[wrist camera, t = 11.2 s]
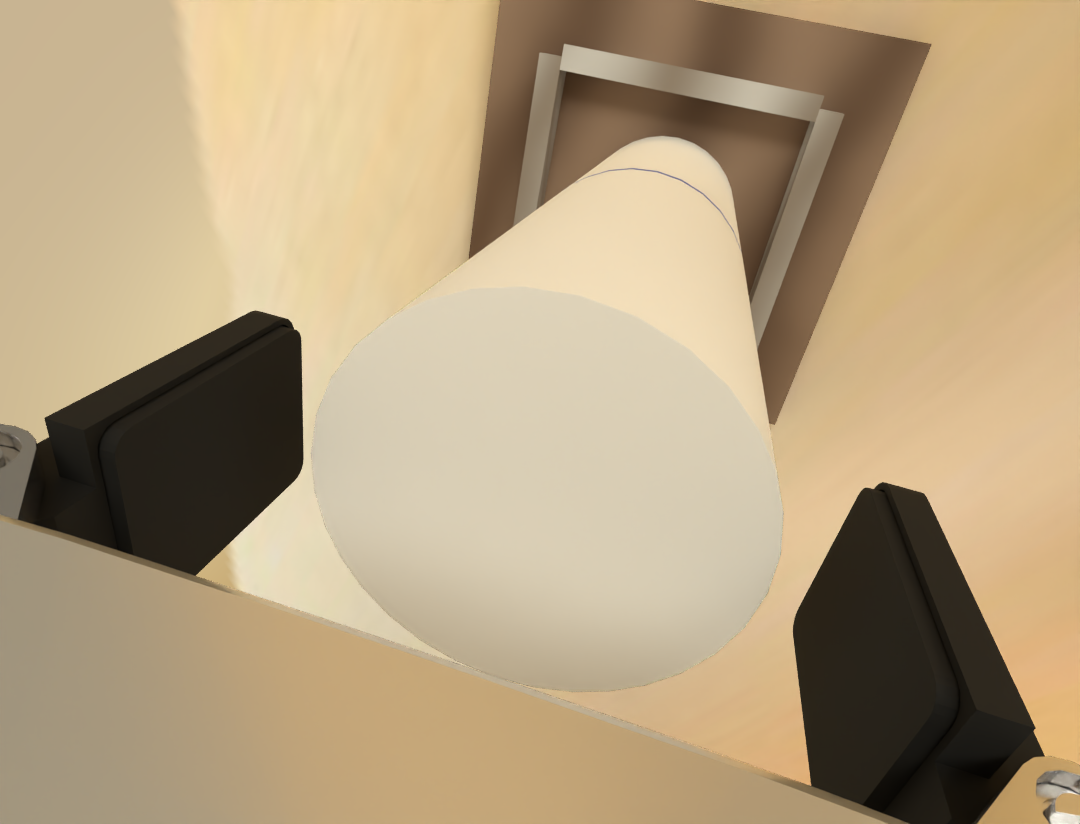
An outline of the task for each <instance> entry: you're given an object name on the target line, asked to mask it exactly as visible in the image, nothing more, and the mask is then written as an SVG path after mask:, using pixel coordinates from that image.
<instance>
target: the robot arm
mask: <svg viewBox="0 0 1080 824" xmlns="http://www.w3.org/2000/svg"><path fill="white" fill-rule="evenodd" d="M45 422H46V426H47V430H48V433H49V438H47V439H45V440H43V441H41V442H40V443H38V444H37V443H36V439H35V438H34V437H33V436H32V435H31V434H30V433H29V432H28V431H26V430H23V429H21V428H18V427H16V426H10V425H4V424H0V824H1080V765H1079V764H1076V763H1074V762H1072V761H1068V760H1064V759H1060V758H1056V757H1052V756H1046V757H1045V756H1044V753H1043V751H1042V749H1041V747H1040V745H1039V743H1038V741H1037V738H1036V736H1035V734H1034V732H1033V731H1034V729H1035V726H1034V724H1033V722H1032V720H1031V717H1030V715H1029V713H1028V711H1027V709H1026V707H1025V705H1024V703H1023V700H1022V698H1021V696H1020V694H1019V692H1018V690H1017V688H1016V686H1015V684H1014V681H1013V679H1012V677H1011V675H1010V673H1009V671H1008V669H1007V667H1006V664H1005V662H1004V660H1003V658H1002V656H1001V654H1000V652H999V650H998V647H997V645H996V643H995V641H994V639H993V637H992V635H991V633H990V630H989V628H988V626H987V624H986V622H985V620H984V618H983V616H982V614H981V611H980V609H979V607H978V605H977V603H976V601H975V599H974V597H973V594H972V592H971V590H970V588H969V586H968V584H967V582H966V580H965V577H964V575H963V573H962V571H961V569H960V567H959V565H958V563H957V560H956V558H955V556H954V554H953V552H952V550H951V548H950V546H949V544H948V541H947V539H946V537H945V535H944V533H943V531H942V529H941V527H940V524H939V522H938V520H937V518H936V516H935V514H934V512H933V510H932V507H931V505H930V503H929V501H928V499H927V497H926V496H925V494H924V493H921V492H917V491H913V490H910V489H906V488H903V487H899V486H895V485H892V484H888V483H884V482H882V483H880V484H878V485H877V486H876V487H875V489H870V488H864V489H863V490H862V491H861V492H860V494H859V495H858V497H857V499H856V501H855V503H854V505H853V506H852V508H851V510H850V512H849V514H848V516H847V518H846V520H845V522H844V523H843V525H842V527H841V529H840V531H839V533H838V535H837V537H836V539H835V541H834V542H833V544H832V546H831V548H830V550H829V552H828V554H827V556H826V558H825V559H824V561H823V563H822V565H821V567H820V569H819V571H818V573H817V575H816V576H815V578H814V580H813V582H812V584H811V586H810V588H809V590H808V592H807V593H806V595H805V597H804V599H803V601H802V603H801V605H800V607H799V609H798V611H797V613H796V616H795V620H794V625H793V638H794V646H795V654H796V662H797V671H798V679H799V687H800V695H801V704H802V712H803V720H804V728H805V737H806V745H807V753H808V761H809V770H810V778H811V786H809V785H806V784H804V783H801V782H798V781H795V780H792V779H789V778H786V777H783V776H781V775H778V774H775V773H772V772H769V771H766V770H763V769H761V768H758V767H755V766H752V765H750V764H747V763H744V762H741V761H739V760H736V759H733V758H730V757H727V756H725V755H722V754H719V753H716V752H713V751H710V750H707V749H704V748H702V747H699V746H696V745H693V744H690V743H687V742H684V741H681V740H678V739H675V738H672V737H670V736H667V735H664V734H661V733H658V732H655V731H652V730H649V729H646V728H643V727H641V726H638V725H635V724H632V723H629V722H626V721H623V720H620V719H617V718H614V717H612V716H609V715H606V714H603V713H600V712H597V711H594V710H591V709H588V708H585V707H582V706H580V705H577V704H574V703H571V702H568V701H565V700H562V699H559V698H556V697H553V696H551V695H548V694H545V693H542V692H539V691H536V690H533V689H530V688H527V687H524V686H521V685H518V684H516V683H513V682H510V681H507V680H504V679H501V678H498V677H495V676H492V675H489V674H486V673H483V672H480V671H477V670H474V669H471V668H468V667H465V666H463V665H460V664H457V663H454V662H451V661H448V660H445V659H442V658H439V657H436V656H433V655H430V654H427V653H424V652H421V651H418V650H415V649H412V648H409V647H406V646H403V645H401V644H398V643H395V642H392V641H389V640H386V639H383V638H380V637H377V636H374V635H371V634H368V633H365V632H362V631H359V630H356V629H353V628H350V627H347V626H344V625H341V624H338V623H335V622H332V621H329V620H326V619H323V618H320V617H317V616H315V615H312V614H309V613H306V612H303V611H300V610H297V609H294V608H291V607H287V606H284V605H281V604H278V603H275V602H272V601H269V600H266V599H263V598H260V597H257V596H254V595H251V594H248V593H245V592H242V591H239V590H236V589H233V588H230V587H227V586H224V585H221V584H218V583H215V582H212V581H209V580H206V579H203V578H200V577H197V576H196V575H197V574H198V573H199V572H200V571H201V570H202V569H203V568H204V567H205V566H206V565H207V564H208V563H209V562H210V561H211V560H212V559H213V558H214V557H215V556H216V555H217V554H219V553H220V552H221V551H222V550H223V549H224V548H225V547H226V546H227V545H228V544H229V543H230V542H231V541H232V540H233V539H234V538H235V537H236V536H237V535H238V534H239V533H240V532H242V531H243V530H244V529H245V528H246V527H247V526H248V525H249V524H250V523H251V522H252V521H253V520H254V519H255V518H256V517H257V516H258V515H259V514H260V513H261V512H262V511H263V510H264V509H266V508H267V507H268V506H269V505H270V504H271V503H272V502H273V501H274V500H275V499H276V498H277V497H278V496H279V495H280V494H281V493H282V492H283V491H284V490H285V489H286V488H287V487H288V486H289V485H291V484H292V483H293V482H294V481H295V479H296V478H297V477H298V475H299V474H300V471H301V469H302V465H303V410H302V355H301V336H300V334H299V332H298V331H297V330H294V327H293V325H292V323H291V322H290V321H289V320H288V319H285V318H282V317H278V316H274V315H271V314H267V313H263V312H260V311H252V312H249V313H248V314H246V315H244V316H242V317H240V318H238V319H236V320H234V321H232V322H230V323H228V324H226V325H224V326H222V327H220V328H219V329H216V330H215V331H213V332H211V333H209V334H207V335H205V336H203V337H201V338H199V339H197V340H195V341H193V342H191V343H189V344H187V345H185V346H183V347H181V348H180V349H178V350H176V351H174V352H172V353H170V354H168V355H166V356H164V357H162V358H160V359H158V360H156V361H154V362H152V363H150V364H148V365H146V366H145V367H143V368H141V369H139V370H137V371H135V372H133V373H131V374H129V375H127V376H125V377H123V378H121V379H119V380H117V381H116V382H113V383H112V384H109V385H108V386H106V387H104V388H102V389H100V390H98V391H96V392H94V393H92V394H90V395H88V396H86V397H84V398H82V399H81V400H78V401H76V402H75V403H73V404H71V405H69V406H67V407H65V408H63V409H61V410H59V411H57V412H55V413H53V414H51V415H49V416H48V417H45Z"/></svg>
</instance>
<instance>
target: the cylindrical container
mask: <svg viewBox="0 0 1080 824" xmlns="http://www.w3.org/2000/svg"><path fill="white" fill-rule="evenodd" d="M311 459H312V469H313V480H314V490H315V494H316V498H317V501H318V504H319V507H320V511H321V514H322V517H323V521H324V524H325V527H326V529H327V531H328V533H329V535H330V537H331V539H332V541H333V543H334V545H335V547H336V549H337V551H338V553H339V555H340V557H341V558H342V560H343V561H344V563H345V564H346V566H347V567H348V568H349V570H350V571H351V573H352V574H353V575H354V577H355V578H356V580H357V581H358V582H359V584H360V585H361V587H362V588H363V589H364V590H365V591H366V592H367V593H368V594H369V595H370V596H371V597H372V598H373V599H374V600H375V601H376V603H377V604H378V605H379V606H380V607H381V608H382V609H383V610H384V611H385V612H386V613H387V614H388V615H389V616H390V617H392V618H393V619H394V620H395V621H397V622H398V623H399V624H400V625H402V626H403V627H404V628H406V629H407V630H408V631H409V632H411V633H412V634H413V635H414V636H416V637H417V638H418V639H419V640H421V641H423V642H424V643H426V644H428V645H430V646H431V647H433V648H435V649H436V650H438V651H440V652H441V653H443V654H445V655H447V656H448V657H450V658H452V659H453V660H455V661H457V662H460V663H462V664H464V665H467V666H469V667H472V668H474V669H476V670H479V671H481V672H484V673H486V674H489V675H492V676H495V677H498V678H501V679H504V680H508V681H512V682H516V683H519V684H523V685H527V686H531V687H536V688H544V689H552V690H561V691H569V692H598V691H614V690H620V689H626V688H632V687H639V686H645V685H648V684H651V683H654V682H657V681H660V680H663V679H666V678H669V677H672V676H675V675H678V674H681V673H683V672H684V671H686V670H688V669H690V668H691V667H693V666H695V665H697V664H698V663H700V662H702V661H704V660H706V659H707V658H709V657H711V656H713V655H714V654H716V653H717V652H718V651H719V650H720V649H721V648H722V647H724V646H725V645H726V644H727V643H728V642H729V641H730V640H731V639H732V638H734V637H735V636H736V635H737V634H738V633H739V632H740V631H741V630H742V629H744V628H745V626H746V625H747V623H748V622H749V620H750V619H751V617H752V616H753V614H754V613H755V611H756V610H757V608H758V607H759V605H760V604H761V603H762V601H763V600H764V598H765V597H766V595H767V594H768V591H769V588H770V585H771V582H772V579H773V576H774V573H775V570H776V567H777V564H778V561H779V558H780V555H781V544H782V529H783V515H784V512H783V506H782V500H781V494H780V488H779V482H778V475H777V469H776V463H775V457H774V451H773V445H772V439H771V432H770V426H769V420H768V414H767V408H766V402H765V395H764V389H763V383H762V377H761V371H760V365H759V359H758V352H757V346H756V340H755V334H754V328H753V321H752V315H751V308H750V302H749V295H748V289H747V282H746V276H745V270H744V264H743V258H742V251H741V245H740V239H739V233H738V227H737V221H736V214H735V208H734V201H733V196H732V190H731V187H730V184H729V181H728V179H727V176H726V174H725V173H724V171H723V170H722V168H721V166H720V165H719V163H718V162H717V161H716V160H715V159H714V158H713V157H712V156H711V155H710V154H709V153H708V152H707V151H705V150H704V149H702V148H701V147H699V146H697V145H696V144H694V143H692V142H689V141H686V140H684V139H681V138H677V137H668V136H656V137H647V138H644V139H640V140H637V141H634V142H632V143H630V144H628V145H626V146H624V147H622V148H620V149H619V150H618V151H616V152H615V153H614V154H612V155H611V156H609V157H608V158H607V159H605V160H604V161H603V162H601V163H600V164H599V165H597V166H596V167H595V168H593V169H592V170H590V171H589V172H588V173H586V174H585V175H584V176H582V177H581V178H580V179H578V180H577V181H576V182H574V183H573V184H571V185H570V186H568V187H567V188H566V189H564V190H563V191H561V192H560V193H559V194H557V195H556V196H555V197H553V198H552V199H550V200H549V201H548V202H546V203H545V204H544V205H542V206H541V207H540V208H538V209H537V210H535V211H534V212H533V213H531V214H530V215H529V216H527V217H526V218H525V219H523V220H522V221H520V222H519V223H518V224H516V225H515V226H514V227H512V228H511V229H510V230H508V231H507V232H506V233H504V234H503V235H501V236H500V237H499V238H497V239H496V240H495V241H493V242H492V243H491V244H489V245H488V246H486V247H485V248H484V249H482V250H481V251H480V252H478V253H477V254H476V255H474V256H473V257H471V258H470V259H469V260H467V261H466V262H465V263H463V264H462V265H461V266H459V267H458V268H456V269H455V270H454V271H452V272H451V273H450V274H448V275H447V276H446V277H444V278H443V279H441V280H440V281H439V282H437V283H436V284H435V285H433V286H432V287H431V288H429V289H428V290H427V291H425V292H424V293H422V294H421V295H420V296H418V297H417V298H416V299H414V300H413V301H412V302H410V303H409V304H407V305H406V306H405V307H403V308H402V309H401V310H399V311H398V312H397V313H395V314H394V315H392V316H391V317H390V318H388V319H387V320H386V321H385V322H383V323H382V324H381V325H380V326H378V327H377V328H376V329H375V330H374V331H372V332H371V333H370V334H369V335H367V336H366V337H365V338H364V339H362V340H361V341H360V342H359V343H357V344H356V345H355V346H354V348H353V349H352V350H351V352H350V353H349V354H348V356H347V357H346V359H345V360H344V361H343V363H342V364H341V365H340V367H339V368H338V369H337V371H336V372H335V373H334V375H333V376H332V377H331V379H330V382H329V384H328V387H327V389H326V392H325V394H324V397H323V399H322V402H321V404H320V407H319V409H318V412H317V414H316V420H315V427H314V435H313V442H312V450H311Z"/></svg>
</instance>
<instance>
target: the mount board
mask: <svg viewBox="0 0 1080 824" xmlns="http://www.w3.org/2000/svg"><path fill="white" fill-rule="evenodd" d="M930 47H931V44H927V43H922V42H917V41H911V40H906V39H901V38H895V37H890V36H884V35H879V34H874V33H868V32H863V31H858V30H852V29H847V28H841V27H836V26H831V25H825V24H820V23H815V22H809V21H804V20H798V19H793V18H788V17H782V16H777V15H772V14H766V13H761V12H756V11H750V10H745V9H739V8H734V7H729V6H723V5H718V4H713V3H707V2H702V1H696V0H500V6H499V15H498V23H497V31H496V39H495V48H494V56H493V64H492V72H491V80H490V89H489V97H488V105H487V113H486V122H485V130H484V138H483V146H482V154H481V163H480V171H479V179H478V187H477V196H476V204H475V212H474V220H473V229H472V237H471V245H470V253H469V259H470V258H471V257H473V256H474V255H476V254H477V253H478V252H480V251H481V250H482V249H484V248H485V247H486V246H488V245H489V244H491V243H492V242H493V241H495V240H496V239H497V238H499V237H500V236H501V235H503V234H504V233H506V232H507V231H508V230H510V229H511V228H512V227H514V226H515V225H516V224H518V223H519V222H520V221H522V220H523V219H525V218H526V217H527V216H529V215H530V214H531V213H533V212H534V211H535V210H537V209H538V208H540V207H541V206H542V205H544V204H545V203H546V202H548V201H549V200H550V199H552V198H553V197H555V196H556V195H557V194H559V193H560V192H561V191H563V190H564V189H566V188H567V187H568V186H570V185H571V184H573V183H574V182H576V181H577V180H578V179H580V178H581V177H582V176H584V175H585V174H586V173H588V172H589V171H590V170H592V169H593V168H595V167H596V166H597V165H599V164H600V163H601V162H603V161H604V160H605V159H607V158H608V157H609V156H611V155H612V154H614V153H615V152H616V151H618V150H619V149H620V148H622V147H624V146H626V145H628V144H630V143H632V142H634V141H637V140H640V139H644V138H647V137H656V136H668V137H677V138H681V139H684V140H686V141H689V142H692V143H694V144H696V145H697V146H699V147H701V148H702V149H704V150H705V151H707V152H708V153H709V154H710V155H711V156H712V157H713V158H714V159H715V160H716V161H717V162H718V163H719V165H720V166H721V168H722V170H723V171H724V173H725V174H726V176H727V179H728V181H729V184H730V187H731V190H732V196H733V201H734V208H735V214H736V221H737V227H738V233H739V239H740V245H741V251H742V258H743V264H744V270H745V276H746V282H747V289H748V295H749V302H750V308H751V315H752V321H753V328H754V334H755V340H756V346H757V352H758V359H759V365H760V371H761V377H762V383H763V389H764V395H765V402H766V408H767V414H768V420H769V423H770V424H774V425H775V423H776V420H777V418H778V416H779V413H780V411H781V408H782V406H783V403H784V401H785V399H786V396H787V394H788V391H789V389H790V386H791V384H792V382H793V379H794V377H795V374H796V372H797V369H798V367H799V365H800V362H801V360H802V357H803V355H804V353H805V350H806V348H807V345H808V343H809V340H810V338H811V336H812V333H813V331H814V328H815V326H816V323H817V321H818V319H819V316H820V314H821V311H822V309H823V306H824V304H825V302H826V299H827V297H828V294H829V292H830V289H831V287H832V285H833V282H834V280H835V277H836V275H837V272H838V270H839V268H840V265H841V263H842V260H843V258H844V255H845V253H846V251H847V248H848V246H849V243H850V241H851V239H852V236H853V234H854V231H855V229H856V226H857V224H858V222H859V219H860V217H861V214H862V212H863V209H864V207H865V205H866V202H867V200H868V197H869V195H870V192H871V190H872V188H873V185H874V183H875V180H876V178H877V175H878V173H879V171H880V168H881V166H882V163H883V161H884V158H885V156H886V154H887V151H888V149H889V146H890V144H891V141H892V139H893V137H894V134H895V132H896V129H897V127H898V125H899V122H900V120H901V117H902V115H903V112H904V110H905V108H906V105H907V103H908V100H909V98H910V95H911V93H912V91H913V88H914V86H915V83H916V81H917V78H918V76H919V74H920V71H921V69H922V66H923V64H924V61H925V59H926V57H927V54H928V52H929V49H930Z"/></svg>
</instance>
